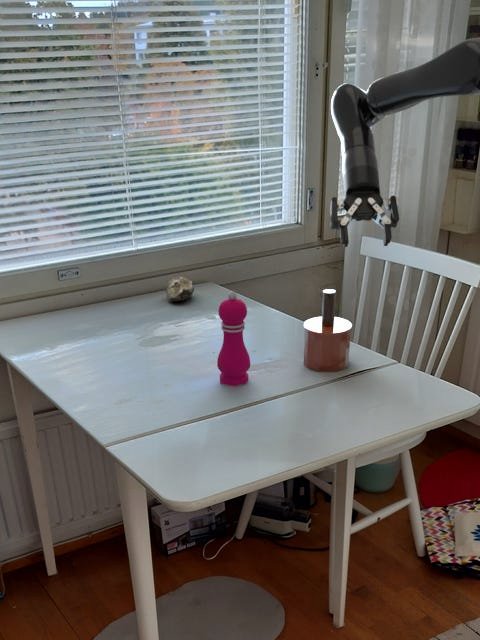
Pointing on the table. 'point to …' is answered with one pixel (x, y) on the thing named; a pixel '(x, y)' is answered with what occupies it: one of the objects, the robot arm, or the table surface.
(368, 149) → the robot arm
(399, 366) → the table surface
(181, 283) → the fossilized seashell
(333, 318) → the lid
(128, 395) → the table surface
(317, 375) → the table surface
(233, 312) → the pepper mill
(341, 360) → the pot
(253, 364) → the table surface
